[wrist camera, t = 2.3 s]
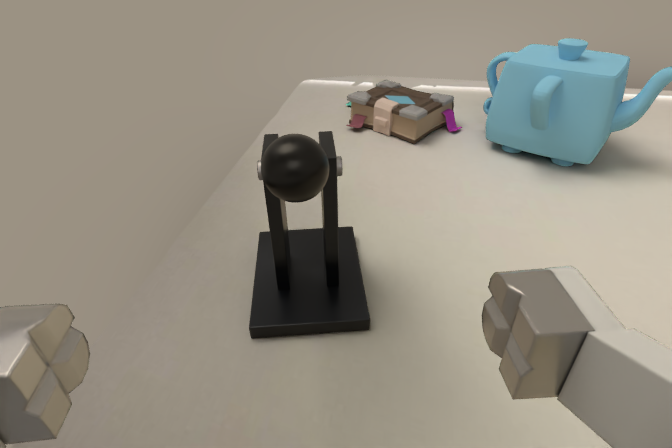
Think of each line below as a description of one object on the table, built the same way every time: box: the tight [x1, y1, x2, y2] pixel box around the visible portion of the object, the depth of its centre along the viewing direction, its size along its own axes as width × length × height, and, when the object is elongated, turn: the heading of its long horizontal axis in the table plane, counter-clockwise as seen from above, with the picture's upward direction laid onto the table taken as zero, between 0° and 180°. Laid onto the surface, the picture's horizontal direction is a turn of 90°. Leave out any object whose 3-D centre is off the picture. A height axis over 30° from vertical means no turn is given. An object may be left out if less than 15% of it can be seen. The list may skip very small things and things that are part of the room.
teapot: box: [483, 38, 672, 166], centre depth 54 cm, size 18×16×14 cm
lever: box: [261, 134, 329, 202], centre depth 26 cm, size 14×3×3 cm, turn 4°
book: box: [346, 80, 462, 144], centre depth 64 cm, size 20×12×5 cm, turn 49°
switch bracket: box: [249, 131, 370, 338], centre depth 34 cm, size 12×9×13 cm
